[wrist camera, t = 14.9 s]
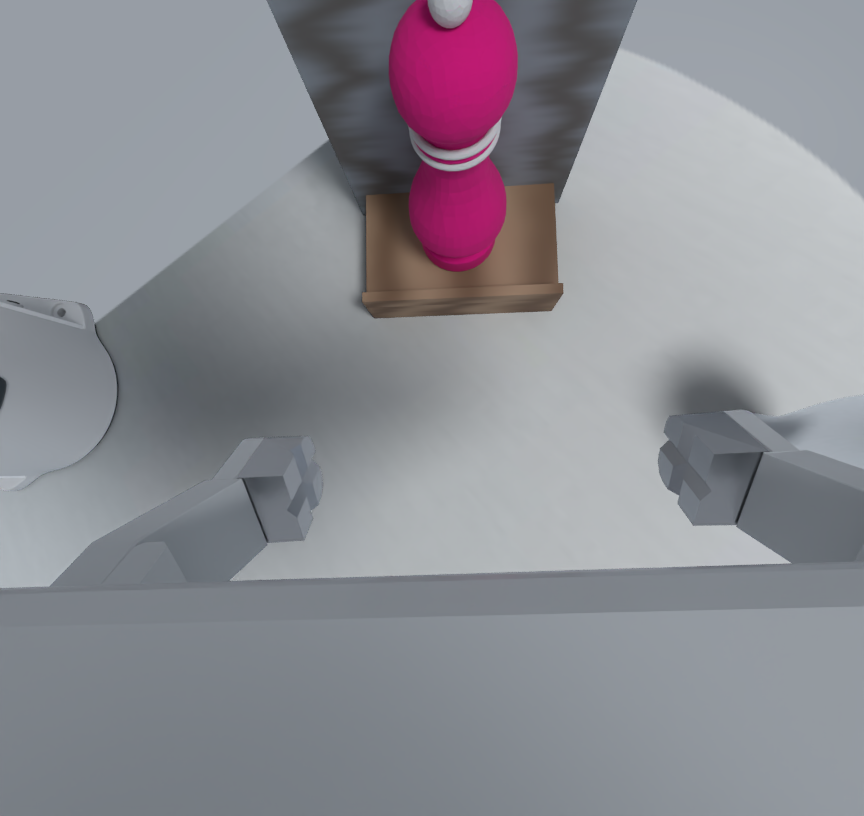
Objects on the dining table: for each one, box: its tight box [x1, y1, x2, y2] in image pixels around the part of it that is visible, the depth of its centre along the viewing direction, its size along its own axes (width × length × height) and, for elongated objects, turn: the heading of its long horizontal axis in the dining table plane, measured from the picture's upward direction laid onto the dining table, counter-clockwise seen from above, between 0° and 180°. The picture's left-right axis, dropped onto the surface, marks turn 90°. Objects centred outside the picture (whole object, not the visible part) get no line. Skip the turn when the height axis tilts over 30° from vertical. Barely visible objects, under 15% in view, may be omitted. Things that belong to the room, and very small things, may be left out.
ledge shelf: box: [267, 0, 637, 318], centre depth 24 cm, size 18×11×28 cm, turn 91°
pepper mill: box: [389, 0, 518, 272], centre depth 25 cm, size 7×7×20 cm
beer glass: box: [753, 394, 864, 469], centre depth 27 cm, size 7×7×15 cm
